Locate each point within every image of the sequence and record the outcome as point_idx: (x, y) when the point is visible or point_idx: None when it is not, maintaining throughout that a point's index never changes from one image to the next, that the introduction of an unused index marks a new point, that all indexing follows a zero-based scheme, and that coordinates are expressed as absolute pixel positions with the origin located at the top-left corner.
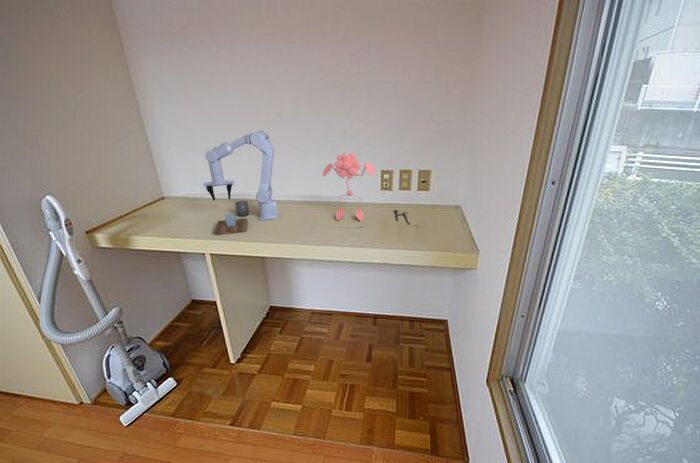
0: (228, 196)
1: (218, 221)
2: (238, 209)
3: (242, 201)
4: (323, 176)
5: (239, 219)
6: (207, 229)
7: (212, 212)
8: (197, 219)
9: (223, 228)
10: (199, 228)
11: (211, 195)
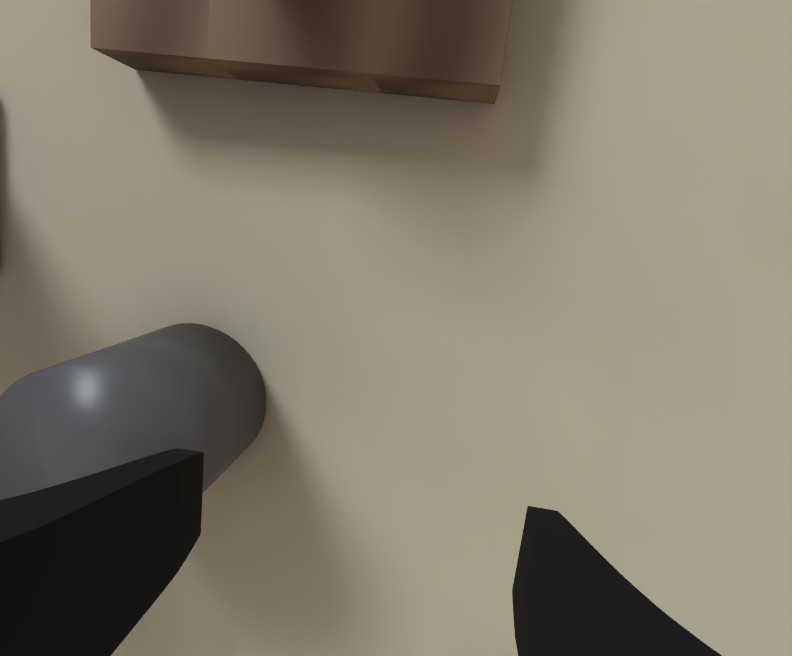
0: (159, 469)
1: (494, 64)
2: (184, 365)
3: None
4: None
5: (191, 30)
6: (654, 13)
7: None
8: (762, 474)
9: None
10: (762, 102)
11: (624, 583)
